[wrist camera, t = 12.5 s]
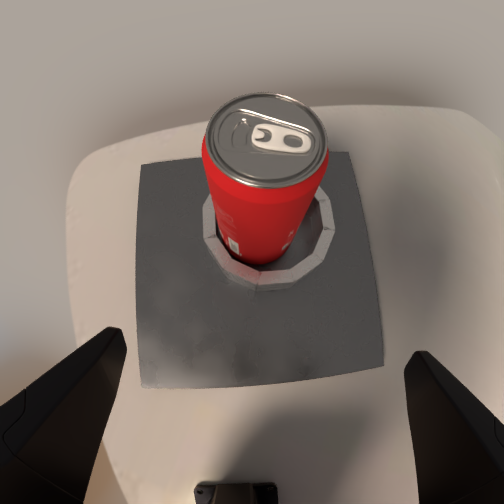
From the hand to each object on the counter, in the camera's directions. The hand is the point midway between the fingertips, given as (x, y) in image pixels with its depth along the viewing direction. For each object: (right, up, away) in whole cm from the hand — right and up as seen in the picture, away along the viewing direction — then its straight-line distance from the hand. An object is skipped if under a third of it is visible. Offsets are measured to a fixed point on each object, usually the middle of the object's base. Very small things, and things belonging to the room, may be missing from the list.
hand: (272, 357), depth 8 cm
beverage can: (0, +4, +14) cm, 15 cm away
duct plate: (0, +2, +15) cm, 15 cm away
